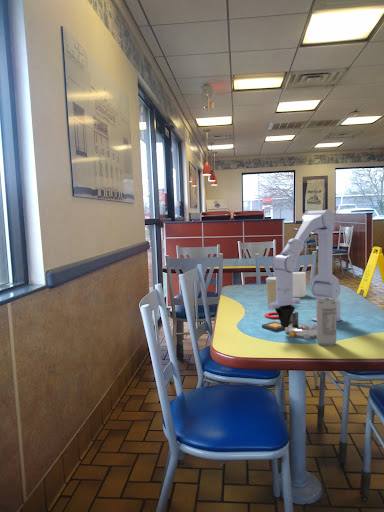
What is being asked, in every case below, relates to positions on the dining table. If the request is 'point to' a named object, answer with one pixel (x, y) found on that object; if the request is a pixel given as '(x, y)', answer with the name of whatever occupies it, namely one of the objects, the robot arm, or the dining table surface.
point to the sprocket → (301, 328)
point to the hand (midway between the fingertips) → (284, 326)
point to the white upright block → (299, 284)
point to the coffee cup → (271, 289)
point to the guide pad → (273, 326)
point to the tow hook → (272, 316)
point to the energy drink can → (326, 321)
